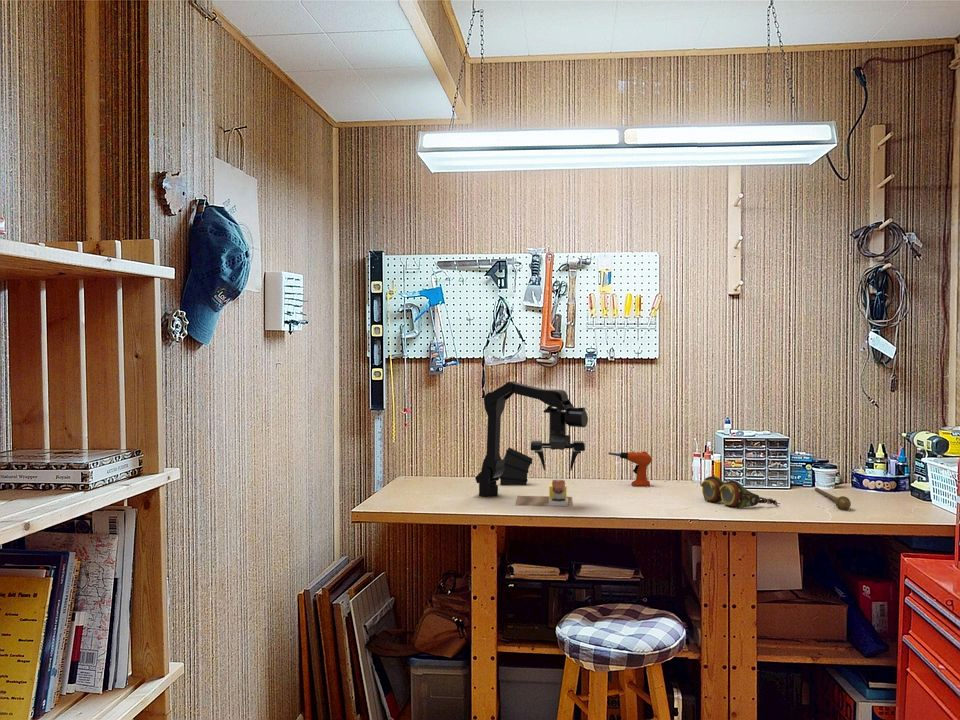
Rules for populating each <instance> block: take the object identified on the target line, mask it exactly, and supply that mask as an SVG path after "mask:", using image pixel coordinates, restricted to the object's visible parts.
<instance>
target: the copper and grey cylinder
mask: <svg viewBox="0 0 960 720" xmlns="http://www.w3.org/2000/svg"><path fill="white" fill-rule="evenodd" d="M551 483H552V491H554V501H563V492H564V491H565V483H566V481H565V480H564V479H553V480H552V482H551Z"/></svg>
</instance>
